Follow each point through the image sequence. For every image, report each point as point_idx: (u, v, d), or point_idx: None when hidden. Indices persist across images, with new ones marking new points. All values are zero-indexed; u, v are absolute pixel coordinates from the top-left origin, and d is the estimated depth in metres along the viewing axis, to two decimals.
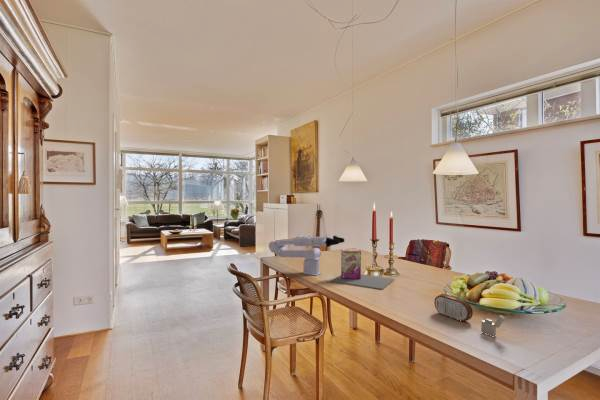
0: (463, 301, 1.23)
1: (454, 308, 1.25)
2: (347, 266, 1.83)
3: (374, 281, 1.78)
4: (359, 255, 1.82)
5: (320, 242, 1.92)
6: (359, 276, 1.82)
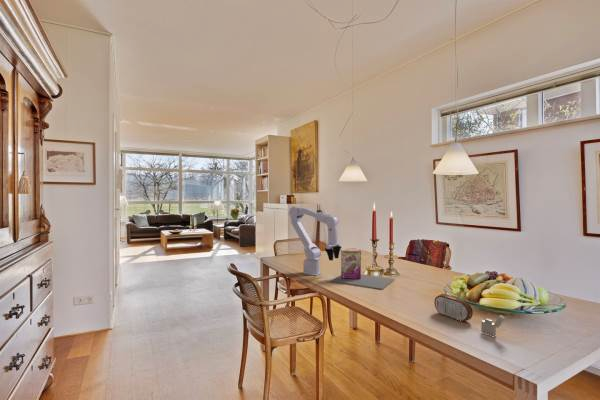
0: (463, 301, 1.23)
1: (454, 308, 1.25)
2: (347, 266, 1.83)
3: (374, 281, 1.78)
4: (359, 255, 1.82)
5: (330, 238, 1.89)
6: (359, 276, 1.82)
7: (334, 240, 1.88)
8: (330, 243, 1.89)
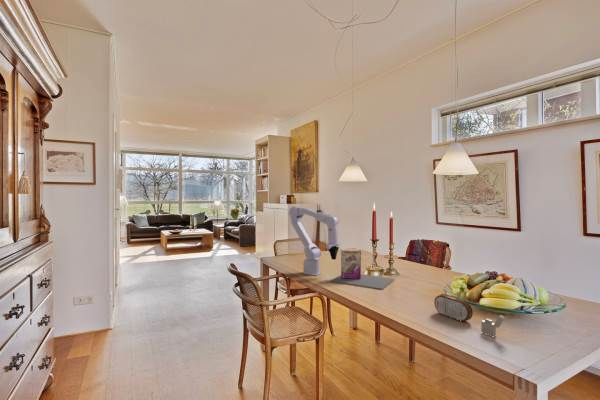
0: (463, 301, 1.23)
1: (454, 308, 1.25)
2: (347, 266, 1.83)
3: (374, 281, 1.78)
4: (359, 255, 1.82)
5: (330, 238, 1.89)
6: (359, 276, 1.82)
7: (334, 240, 1.88)
8: (330, 243, 1.89)
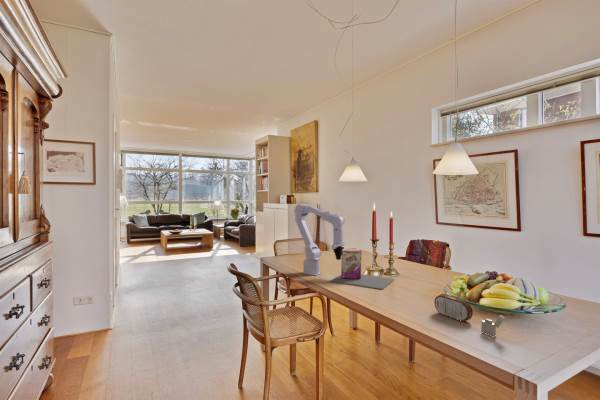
0: (463, 301, 1.23)
1: (454, 308, 1.25)
2: (347, 266, 1.83)
3: (374, 281, 1.78)
4: (359, 255, 1.82)
5: (335, 238, 1.87)
6: (359, 276, 1.82)
7: (339, 240, 1.86)
8: (335, 243, 1.87)
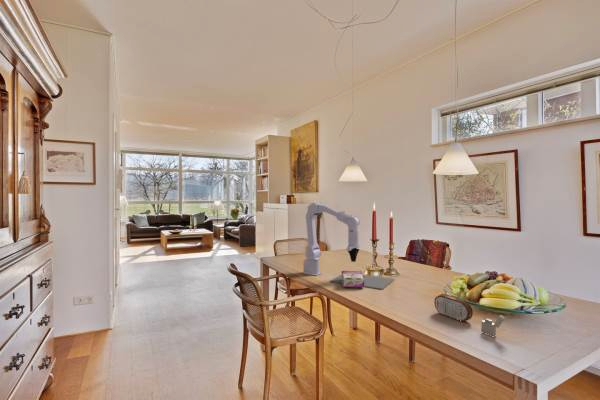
0: (463, 301, 1.23)
1: (454, 308, 1.25)
2: None
3: (374, 281, 1.78)
4: None
5: (350, 240, 1.82)
6: None
7: (355, 242, 1.81)
8: (350, 245, 1.82)
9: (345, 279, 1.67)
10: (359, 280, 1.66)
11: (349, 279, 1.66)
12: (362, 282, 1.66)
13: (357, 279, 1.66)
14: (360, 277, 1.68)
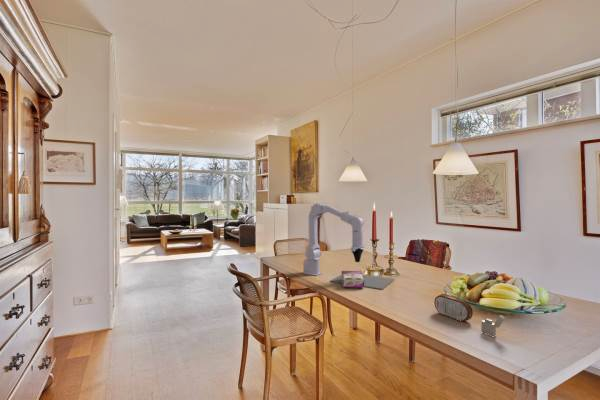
0: (463, 301, 1.23)
1: (454, 308, 1.25)
2: None
3: (374, 281, 1.78)
4: None
5: (355, 240, 1.80)
6: None
7: (359, 242, 1.80)
8: (355, 245, 1.80)
9: (345, 279, 1.67)
10: (359, 280, 1.66)
11: (349, 279, 1.66)
12: (362, 282, 1.66)
13: (357, 279, 1.66)
14: (360, 277, 1.68)
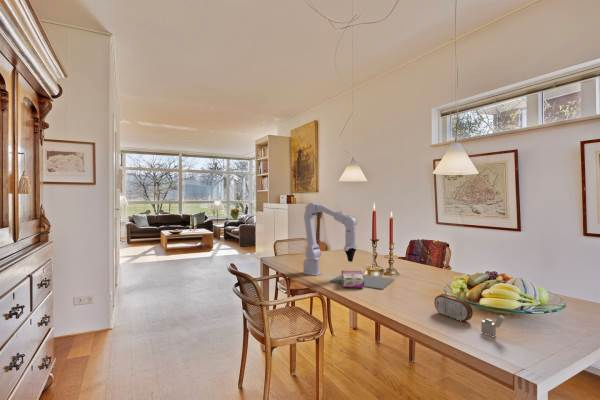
0: (463, 301, 1.23)
1: (454, 308, 1.25)
2: None
3: (374, 281, 1.78)
4: None
5: (347, 240, 1.83)
6: None
7: (352, 242, 1.82)
8: (347, 245, 1.83)
9: (345, 279, 1.67)
10: (359, 280, 1.66)
11: (349, 279, 1.66)
12: (362, 282, 1.66)
13: (357, 279, 1.66)
14: (360, 277, 1.68)
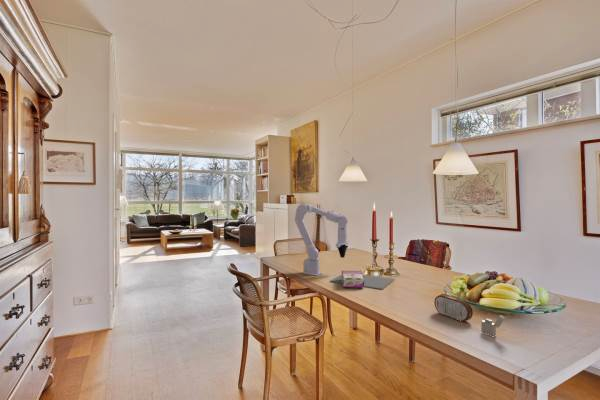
0: (463, 301, 1.23)
1: (454, 308, 1.25)
2: None
3: (374, 281, 1.78)
4: None
5: (339, 237, 1.94)
6: None
7: (344, 239, 1.94)
8: (339, 242, 1.94)
9: (345, 279, 1.67)
10: (359, 280, 1.66)
11: (349, 279, 1.66)
12: (362, 282, 1.66)
13: (357, 279, 1.66)
14: (360, 277, 1.68)
